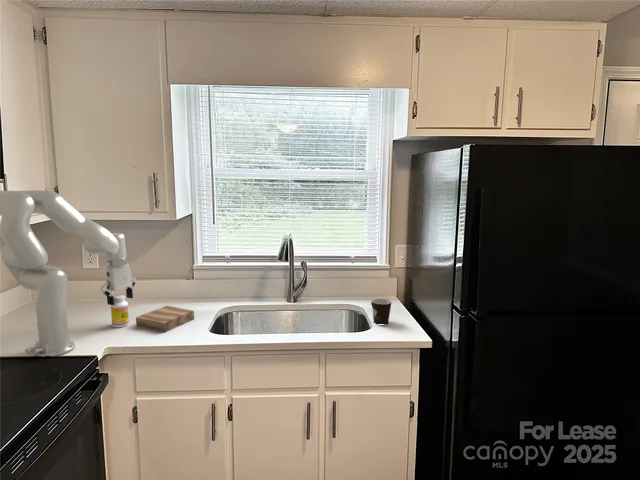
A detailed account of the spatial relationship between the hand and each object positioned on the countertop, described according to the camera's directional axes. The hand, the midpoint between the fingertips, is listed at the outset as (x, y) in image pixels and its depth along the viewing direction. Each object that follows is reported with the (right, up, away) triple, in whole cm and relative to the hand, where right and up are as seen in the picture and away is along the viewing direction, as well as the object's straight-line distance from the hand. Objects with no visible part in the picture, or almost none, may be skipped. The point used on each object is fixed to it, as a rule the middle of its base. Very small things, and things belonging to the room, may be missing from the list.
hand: (120, 301), depth 183 cm
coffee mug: (+113, -11, +9) cm, 114 cm away
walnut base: (+18, -10, +5) cm, 21 cm away
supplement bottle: (0, -11, +1) cm, 11 cm away
